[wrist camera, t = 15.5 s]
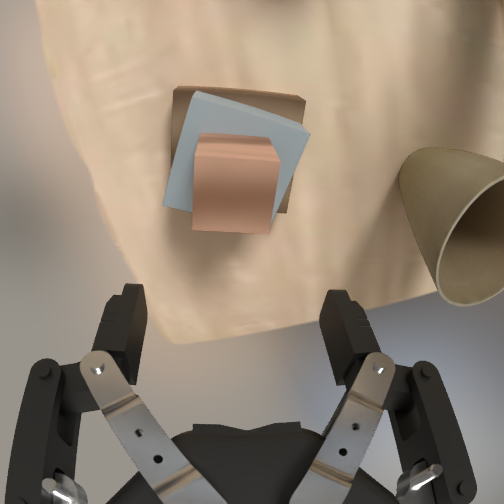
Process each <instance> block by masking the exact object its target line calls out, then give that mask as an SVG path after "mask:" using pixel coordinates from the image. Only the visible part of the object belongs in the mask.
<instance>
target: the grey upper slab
mask: <svg viewBox="0 0 504 504" xmlns="http://www.w3.org/2000/svg"><path fill="white" fill-rule="evenodd" d="M200 133H218V134H233V135H246V136H257V137H267V138H269V139H270V141H271V143H272V145H273V147H274V149H275V151H276V153H277V155H278V157H279V159H280V161H281V164H280V171H279V177H278V183H277V189H276V195H275V201H274V207H273V213H272V219H271V223H272V221H273V219H274V217H275V214H276V212H277V210H278V208H279V205H280V203H281V201H282V198H283V196H284V194H285V192H286V189H287V187H288V185H289V182H290V180H291V178H292V176H293V173H294V171H295V169H296V166H297V164H298V162H299V159H300V157H301V155H302V153H303V150H304V148H305V146H306V143H307V141H308V139H309V136H310V133H309V132H308V131H307V130H306V129H305V128H304V127H303V126H302V125H301V124H300V123H298V122H295V121H293V120H290V119H287V118H284V117H281V116H279V115H276V114H273V113H270V112H267V111H264V110H261V109H258V108H255V107H252V106H249V105H245V104H242V103H239V102H236V101H232V100H229V99H226V98H222V97H219V96H215V95H211V94H208V93H204V92H200V91H196V92H195V93H194V95H193V96H192V99H191V102H190V105H189V108H188V112H187V115H186V118H185V121H184V125H183V128H182V132H181V135H180V139H179V142H178V146H177V150H176V153H175V157H174V161H173V164H172V168H171V172H170V176H169V180H168V184H167V188H166V192H165V196H164V200H163V206H167V207H171V208H175V209H179V210H183V211H187V212H191V213H192V208H193V180H194V159H195V152H196V148H197V144H198V140H199V136H200ZM270 226H271V225H270Z"/></svg>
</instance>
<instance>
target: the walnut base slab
mask: <svg viewBox="0 0 504 504" xmlns="http://www.w3.org/2000/svg"><path fill="white" fill-rule="evenodd" d="M196 91H200V92H204V93H208V94H211V95H215V96H219V97H222V98H226V99H229V100H232V101H236V102H239V103H242V104H245V105H249V106H252V107H255V108H258V109H261V110H264V111H267V112H270V113H273V114H276V115H279V116H281V117H284V118H287V119H290V120H293V121H295V122H298V123H300V124H301V125H302V122H303V116H304V110H305V104H306V101H305V100H304V99H302V98H301V97H299V96H298V95H291V94H283V93H275V92H266V91H257V90H246V89H234V88H219V87H198V86H178V87H177V88H176V89H174V90H173V110H172V139H171V168H172V164H173V161H174V157H175V153H176V150H177V146H178V142H179V139H180V135H181V132H182V128H183V125H184V121H185V118H186V115H187V112H188V108H189V105H190V102H191V99H192V96H193V95H194V93H195V92H196ZM293 175H294V173H293ZM292 180H293V176H292V178H291V180H290V182H289V185H288V187H287V189H286V192H285V194H284V196H283V198H282V201H281V203H280V205H279V208H278V210H277V212H276V213H287V208H288V202H289V197H290V191H291V186H292Z"/></svg>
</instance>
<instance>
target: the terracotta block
mask: <svg viewBox="0 0 504 504" xmlns="http://www.w3.org/2000/svg"><path fill="white" fill-rule="evenodd" d="M280 164H281V161H280V159H279V157H278V155H277V153H276V151H275V149H274V147H273V145H272V143H271V141H270V139H269V138H267V137H257V136H246V135H233V134H218V133H200V136H199V140H198V144H197V148H196V152H195V159H194V180H193V208H192V230H201V231H222V232H241V233H259V234H269V231H270V225H271V219H272V213H273V207H274V201H275V195H276V189H277V183H278V177H279V171H280Z"/></svg>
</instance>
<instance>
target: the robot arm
mask: <svg viewBox="0 0 504 504" xmlns="http://www.w3.org/2000/svg"><path fill="white" fill-rule="evenodd" d="M319 323H320V328H321V332H322V335H323V338H324V342H325V346H326V349H327V352H328V356H329V360H330V363H331V367H332V370H333V374H334V377H335V381H336V385H337V386H338V385H346V389H347V390H346V392H345V393H344V396H343V398H342V399H341V401H340V403H339V405H338V407H337V409H336V410H335V412H334V414H333V416H332V418H331V420H330V421H329V423H328V425H327V426H326V428H325V430H324V431H323V433H322V434H321V435H320V434H318V433H316V432H314V431H311V430H308V429H304V428H301V425H300V422H287V423H274V424H270V425H267V426H263V427H260V428H256V429H252V430H242V429H237V428H233V427H228V426H224V425H218V424H217V425H216V424H215V425H214V424H193V430H192V431H187V432H184V433H181V434H179V435H177V436H175V437H173V438H171V439H170V438H169V437H168V435H167V434H166V433H165V431H164V430H163V429H162V427H161V426H160V425H159V423H158V422H157V421H156V419H155V418H154V416H153V415H152V414H151V412H150V411H149V409H148V408H147V407H146V405H145V404H144V402H143V401H142V400H141V398H140V397H139V396H138V395H136V394H135V393H134V391H133V390H132V388H131V387H130V385H136V382H137V376H138V370H139V364H140V358H141V351H142V346H143V341H144V336H145V330H146V325H147V306H146V300H145V293H144V287H143V285H142V284H128V283H127V284H125V286H124V289H123V292H122V295H113V296H112V297H111V298H110V300H109V301H108V302H107V303H106V306H105V309H104V312H103V315H102V318H101V322H100V324H99V328H98V331H97V334H96V337H95V341H94V344H93V348H92V351H91V352H90V353H88V354H86V355H85V356H84V357H83V358H82V360H81V361H80V362H78V363H74V364H68V365H62V366H59V364H58V363H57V362H56V361H55V360H52V359H47V358H46V359H41V360H39V361H37V362H36V363H35V364H34V365H33V366H32V368H31V370H30V374H29V377H28V381H27V384H26V388H25V392H24V396H23V399H22V403H21V407H20V412H19V416H18V420H17V425H16V430H15V434H14V440H13V445H12V450H11V457H10V463H9V469H8V476H7V485H6V494H5V504H88V499H87V495H86V492H85V490H84V489H83V488H82V487H81V486H80V485H79V484H77V483H76V482H75V481H74V477H75V464H76V454H77V445H78V436H79V428H80V421H81V414H82V413H83V412H89V411H95V410H101V411H102V413H103V415H104V417H105V418H106V420H107V422H108V423H109V425H110V427H111V429H112V430H113V432H114V433H115V435H116V437H117V438H118V440H119V441H120V443H121V445H122V446H123V448H124V449H125V451H126V452H127V454H128V455H129V457H130V458H131V460H132V461H133V463H134V464H135V466H136V467H137V468H138V470H139V471H138V472H137V473H136V474H135V475H134V476H133V477H132V478H131V479H130V480H129V481H128V482H127V483H126V484H125V485H124V486H123V487H122V488H121V489H120V490H119V491H118V492H117V493H116V494H115V495H114V496H113V497H112V498H111V499H110V500H109V501H108V502H107V503H106V504H469V503H470V502H471V501H472V500H473V499H474V498H475V495H476V492H477V485H476V480H475V477H474V473H473V470H472V466H471V463H470V459H469V456H468V453H467V450H466V446H465V443H464V440H463V437H462V434H461V431H460V428H459V425H458V422H457V419H456V416H455V414H454V411H453V408H452V405H451V403H450V400H449V397H448V394H447V392H446V389H445V387H444V384H443V381H442V379H441V377H440V374H439V372H438V370H437V368H436V367H435V366H434V365H433V364H431V363H430V362H427V361H419V362H417V363H415V364H414V366H413V367H407V366H401V365H396V364H394V362H393V360H392V359H391V358H390V357H389V356H388V355H386V354H384V353H382V352H381V350H380V347H379V345H378V343H377V340H376V338H375V335H374V333H373V330H372V328H371V327H370V323H369V321H368V320H367V316H366V314H365V312H364V309H363V308H362V307H361V306H360V305H359V304H358V303H357V302H356V301H351V300H350V298H349V295H348V293H347V291H346V290H328V292H327V295H326V298H325V301H324V304H323V307H322V310H321V313H320V318H319ZM384 409H385V410H388V413H389V417H390V421H391V425H392V429H393V433H394V437H395V441H396V445H397V449H398V454H399V458H400V462H401V467H402V471H403V474H402V475H401V476H400V477H399V479H398V482H397V489H396V490H397V494H396V496H394V495H393V494H392V493H391V492H390V491H389V490H387V489H386V488H385V487H383V486H382V485H381V484H380V483H379V482H377V481H376V480H375V479H373V478H372V477H371V476H369V474H367V473H366V472H365V471H364V470H362V469H361V468H360V467H359V466H360V464H361V462H362V460H363V458H364V455H365V453H366V451H367V449H368V447H369V445H370V442H371V440H372V437H373V436H374V433H375V431H376V429H377V426H378V424H379V421H380V419H381V416H382V414H383V411H384Z"/></svg>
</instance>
